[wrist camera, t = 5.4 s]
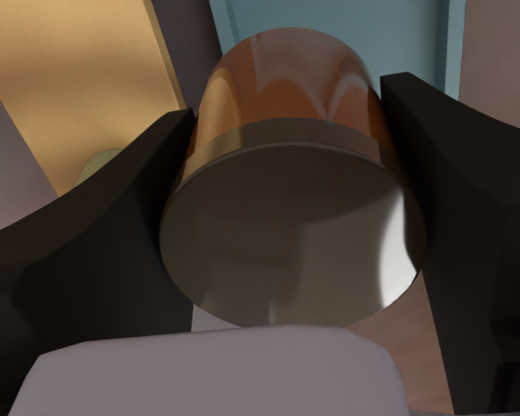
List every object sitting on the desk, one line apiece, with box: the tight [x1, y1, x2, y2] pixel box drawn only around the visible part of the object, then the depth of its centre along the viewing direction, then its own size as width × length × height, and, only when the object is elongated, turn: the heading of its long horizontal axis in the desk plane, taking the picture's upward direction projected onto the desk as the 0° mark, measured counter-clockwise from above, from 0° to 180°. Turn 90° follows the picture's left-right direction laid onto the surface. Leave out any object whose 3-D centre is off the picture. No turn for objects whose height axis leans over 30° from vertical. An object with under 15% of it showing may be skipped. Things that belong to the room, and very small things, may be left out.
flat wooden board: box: [0, 0, 187, 197], centre depth 20 cm, size 18×7×4 cm, turn 11°
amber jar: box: [158, 27, 429, 328], centre depth 10 cm, size 5×5×5 cm
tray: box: [209, 0, 466, 101], centre depth 19 cm, size 15×9×2 cm, turn 11°
